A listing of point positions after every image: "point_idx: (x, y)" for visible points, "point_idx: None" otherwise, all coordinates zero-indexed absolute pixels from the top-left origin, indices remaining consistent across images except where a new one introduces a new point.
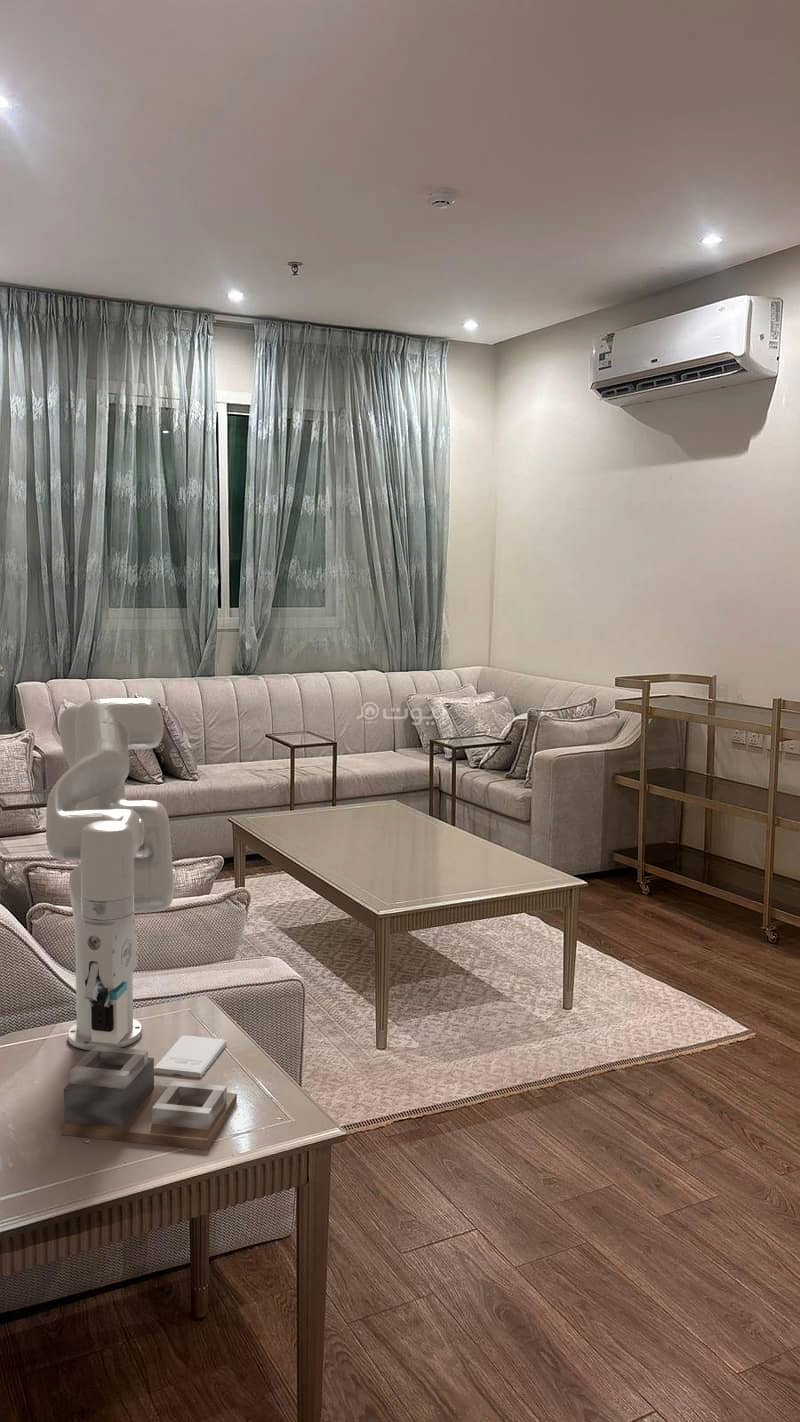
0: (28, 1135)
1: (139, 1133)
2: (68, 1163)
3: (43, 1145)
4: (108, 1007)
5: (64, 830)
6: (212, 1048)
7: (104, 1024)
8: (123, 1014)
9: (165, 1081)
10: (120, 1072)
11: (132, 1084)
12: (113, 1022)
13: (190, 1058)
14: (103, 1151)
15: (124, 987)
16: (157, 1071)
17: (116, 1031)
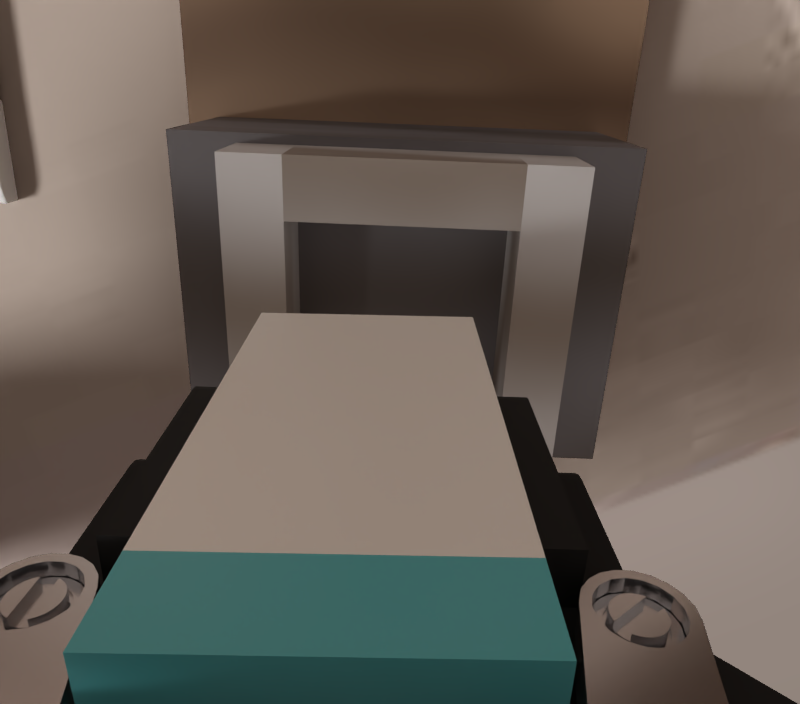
0: (586, 469)
1: (642, 32)
2: (780, 269)
3: (651, 399)
4: (649, 576)
5: None
6: None
7: (579, 485)
8: (324, 396)
9: (72, 114)
10: (550, 217)
11: (499, 142)
12: (507, 426)
13: None
14: (696, 169)
15: (211, 609)
16: (10, 181)
17: (482, 362)
